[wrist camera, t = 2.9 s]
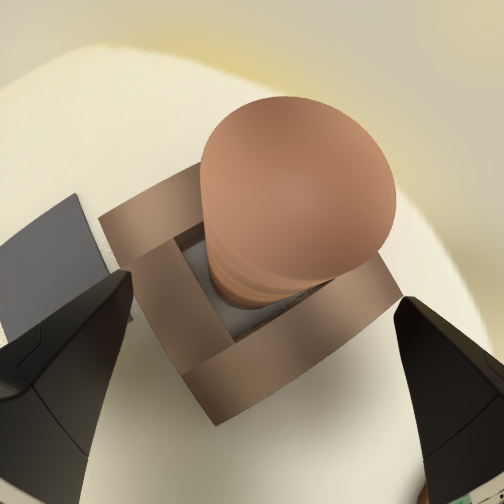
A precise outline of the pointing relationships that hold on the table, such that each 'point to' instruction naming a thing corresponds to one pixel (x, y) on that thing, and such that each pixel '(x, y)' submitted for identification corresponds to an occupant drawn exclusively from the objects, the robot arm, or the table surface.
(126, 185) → the table surface
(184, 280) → the block
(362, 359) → the table surface
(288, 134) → the peg
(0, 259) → the mat
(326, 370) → the table surface
